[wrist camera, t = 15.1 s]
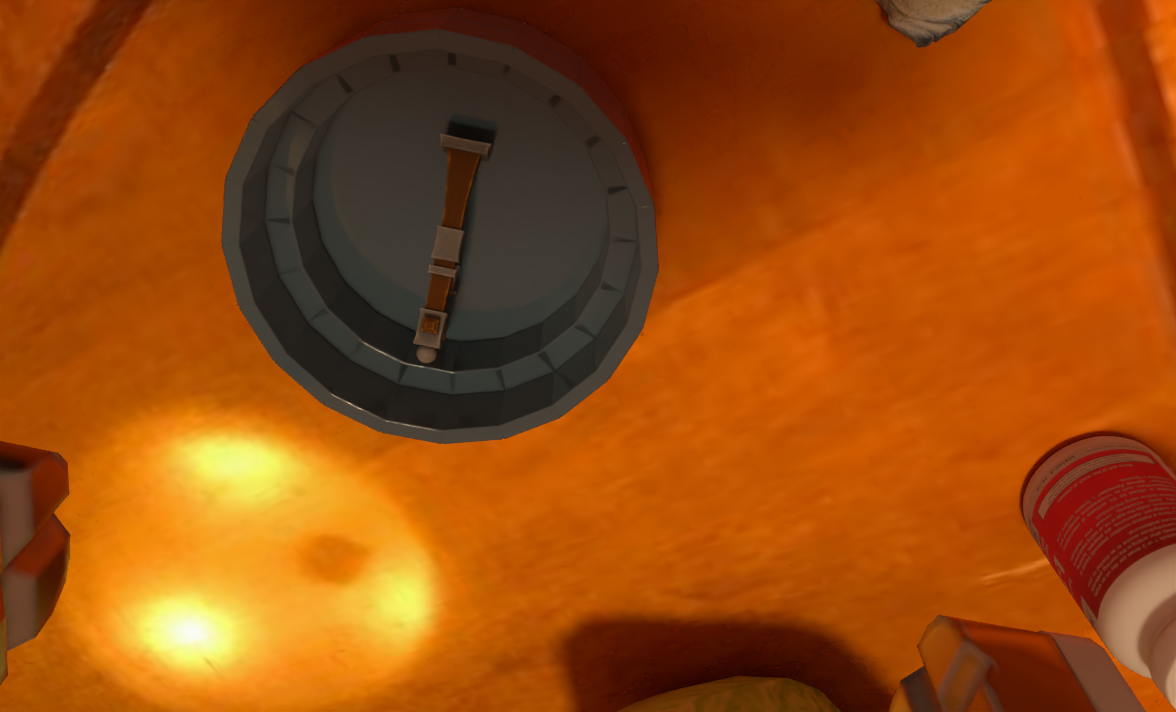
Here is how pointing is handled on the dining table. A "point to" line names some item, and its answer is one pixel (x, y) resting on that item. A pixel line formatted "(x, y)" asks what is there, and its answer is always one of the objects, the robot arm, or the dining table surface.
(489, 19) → the basin
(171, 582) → the dining table surface
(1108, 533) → the pill bottle
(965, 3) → the seashell
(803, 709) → the lettuce
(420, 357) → the brown buckled strap
